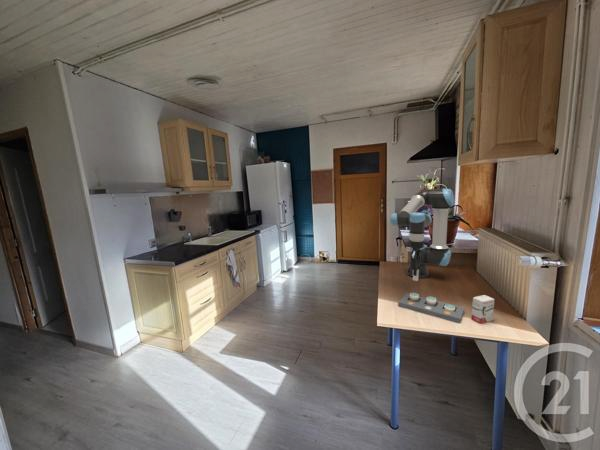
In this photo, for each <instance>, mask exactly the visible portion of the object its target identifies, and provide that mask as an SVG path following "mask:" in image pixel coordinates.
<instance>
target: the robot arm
mask: <svg viewBox="0 0 600 450" xmlns="http://www.w3.org/2000/svg"><path fill="white" fill-rule="evenodd" d="M454 204H455V197H454V192H453V190H452V189H451V188H430V189H429V188H426V189H423V190H420V191H418V192H416V193H415V194H413V195H412V196H411V198H410V201H409V202H407V204H406V205H405V206H404V207H403V208H402V209H401V210H400V211H399V212H398V213H396V212H394V213H392V214H391V216H390V220H389V221H390V224H391V225H392V226H401V227H409V233H408V236H409V238H408V239H409V242H408V245H409V264H408V267H407V270H406V275H407V274H408V275H410V276H409V277H411V276H413V277H412V281H414V282H418V281H419V279H427V278H428V277H429V275H430V273H429V269H428V265H427V264H429V265H433V266H434V265H435V266H442V267H447V266H448V265H449V263H450V261H451V257H452V251H451V250H450V249H449V246H448V245H447V235H448V234H447V233H448V218H449V217H448V215H449V214H448V213H449V211H450V209H451V208H452V207H453V206H454ZM423 206H424V207H425V206H426V207H427V206H431V207H430V208H431V210H432V211H433V217H432V216H431V215H429V214H428V213H423V212H418V210H420V208H422V207H423ZM432 218H433V219H432ZM431 224H432V243H431V244H430V245H429V247H428V245H427V244H425V228H427V227H429V226H430V225H431ZM408 275H407V276H408ZM426 277H427V278H426Z"/></svg>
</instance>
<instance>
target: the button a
mask: <svg viewBox="0 0 600 450" xmlns="http://www.w3.org/2000/svg"><path fill="white" fill-rule="evenodd" d="M409 294H410V301H414V302H417V301H419V297H420V294H419V293H418V292H410V293H409Z"/></svg>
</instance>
